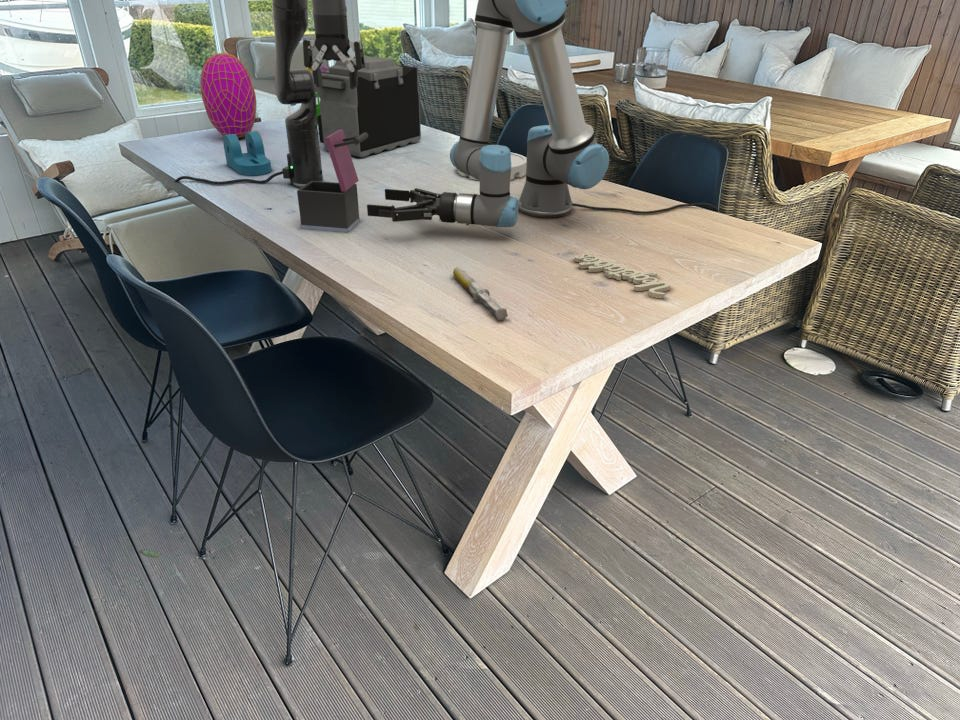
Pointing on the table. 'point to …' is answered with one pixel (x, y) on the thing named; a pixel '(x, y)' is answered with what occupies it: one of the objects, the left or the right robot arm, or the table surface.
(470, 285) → the yellow and grey rod
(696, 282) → the table surface
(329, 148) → the lid
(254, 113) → the decorative egg
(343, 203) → the chest
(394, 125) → the tool box
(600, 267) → the decorative sign
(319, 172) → the left robot arm
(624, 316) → the table surface
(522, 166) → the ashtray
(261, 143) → the camera mount
